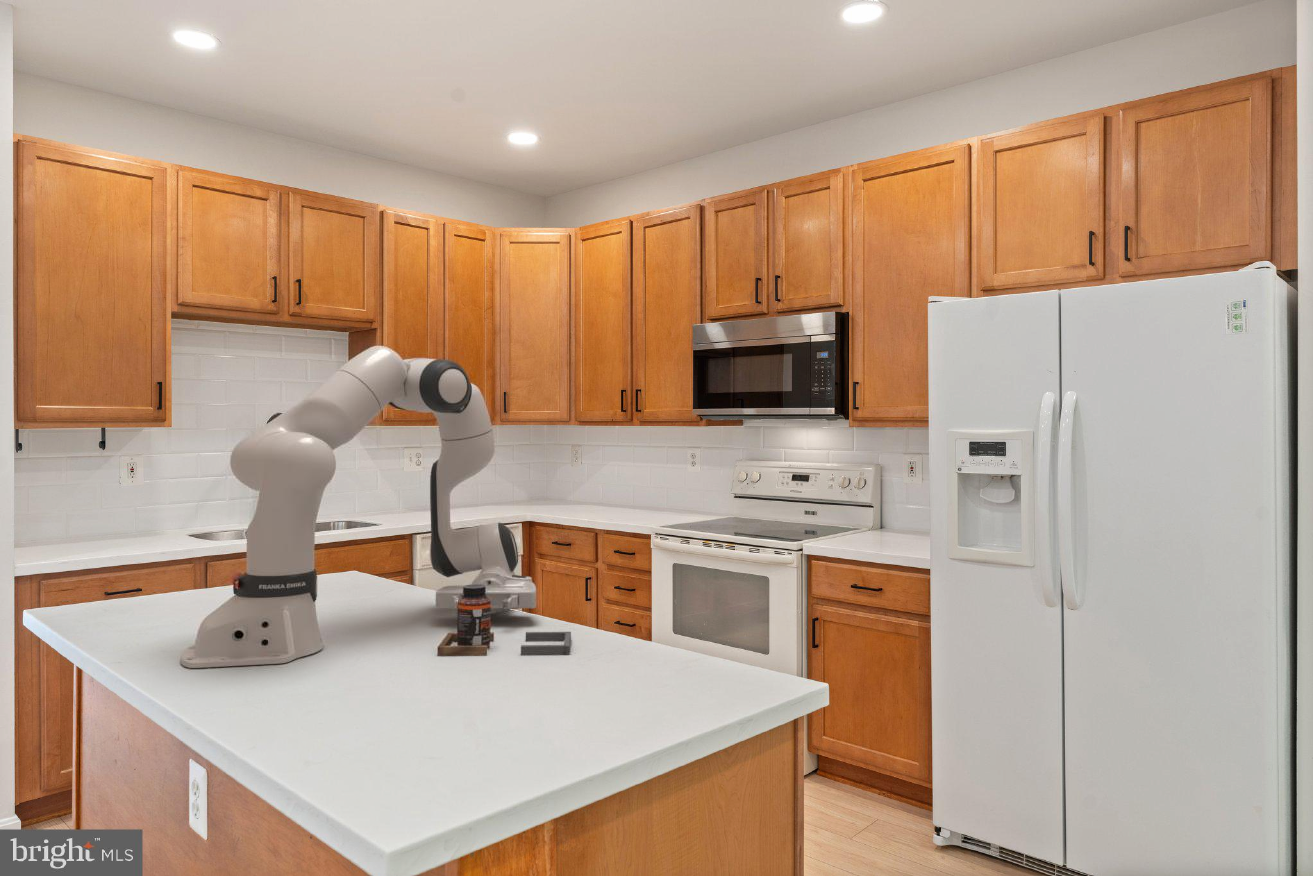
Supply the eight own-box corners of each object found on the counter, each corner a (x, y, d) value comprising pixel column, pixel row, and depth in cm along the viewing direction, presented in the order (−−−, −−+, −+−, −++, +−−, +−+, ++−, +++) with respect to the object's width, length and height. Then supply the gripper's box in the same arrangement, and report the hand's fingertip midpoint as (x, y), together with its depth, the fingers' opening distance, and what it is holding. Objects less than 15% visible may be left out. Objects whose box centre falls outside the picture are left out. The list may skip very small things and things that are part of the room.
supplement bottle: (486, 652, 151) (486, 589, 151) (453, 651, 151) (453, 588, 151) (493, 644, 157) (493, 583, 157) (461, 643, 157) (462, 582, 157)
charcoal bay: (520, 655, 149) (520, 646, 149) (525, 639, 160) (526, 632, 160) (569, 654, 150) (569, 646, 150) (571, 639, 161) (571, 631, 160)
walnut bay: (437, 655, 148) (437, 647, 148) (448, 640, 159) (448, 632, 159) (486, 655, 148) (486, 646, 148) (493, 640, 159) (494, 632, 159)
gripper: (441, 576, 178) (428, 588, 165) (539, 576, 180) (534, 588, 166) (441, 606, 178) (428, 621, 165) (538, 606, 180) (533, 620, 166)
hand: (482, 604), depth 165 cm, fingers open, 8 cm apart
